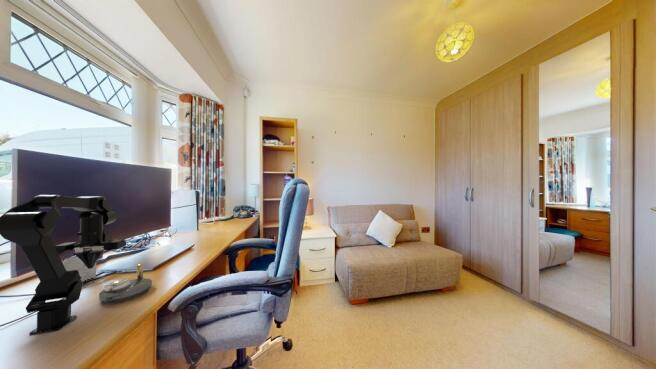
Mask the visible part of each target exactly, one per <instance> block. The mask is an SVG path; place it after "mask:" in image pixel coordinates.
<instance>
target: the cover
mask: <svg viewBox="0 0 656 369" xmlns="http://www.w3.org/2000/svg"><path fill="white" fill-rule="evenodd" d="M130 280H131V279H129V278H118V279H116V280H113V281H111V282H108V283H107V284H105V286H104V289H105V293H114V292H118V291H121V290H124V289H126V288H128V287H129V286H130Z"/></svg>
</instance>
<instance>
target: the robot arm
mask: <svg viewBox="0 0 656 369" xmlns="http://www.w3.org/2000/svg"><path fill="white" fill-rule="evenodd" d="M40 209H49V210H48V211H39V210H40ZM61 209H73V210H74V211H77V212H81V213H80V214H78V215H77V216H76V219H79V232H77V233H76V236H78V237H79V242H78V241H74V242H72V241H70V242H64V243H60V244H57V245H55V244H54V242H53V240H52V237H51V235H52V233H53V231H54V229H55V228H56V225H55V224H56V222H57V221H58V220H59V219H60V218H61V217H62V214H61ZM117 219H118V214H117V213H116V212H115V211H113V208H112V206H111V204H110V202H109V200H108V199H107V197H106V196H103V195H102V196H101V195H99V196H98V195H96V196H95V195H94V196H93V195H91V196H89V195H88V196H86V195H85V196H83V195H81V196H77V197H76V196H66V195H61V194H39V195H36V196H34V197H32V198H30V200H28V201H26V202H23V203H21V204H18V205H16V206H14V207H11V208H9V209H8V210H7V211H6V212H4V213H3V214H2V215H0V236H1V237H2V238H3V239H4V240H6V241H9V242H11V243H15V244H17V245H18V246H20V248H21V250H22V252H23V253H24V255H25V257H26V259H27V260H28V262H29V264H30V266H31V267H32V269H33V271H34V272H35V274H36V277H37V278H38V280H39V282H38V285H37V286H36V287H35V290H34V291H35V294H34V295H33V297H32V298H31V299H30V301H29V303H28V304H27V305H26V306H25V311H26V313H27V314H31V313H35V312H37V313H36V328H34V329H33V330H31V331H29V334H28V335H34V334H42V333H47V332H48V333H49V332H52V331H53V332H54V331H58V330H60V329H62V328H63V327H65V326H66V325H68V324H69V323H70V322H71V321H73V320H75V319H76V318H77V314H75V315H72V305H73V304H74V303H76V302H77V301H78V300H80V298H81V292H82V289H83V285H84V282H83V281H81V278H82V277H80V275H79V271H77V270H70V271H67V270H66V269H65V267H64V265H63V263H62V257H61V256H60V254H61V255H62V254H64V253H65V252H66V251H74V250H75V253H72V255H76V256H77V257H78V258H79V259H80V260H81V261H82V262H83V263H84V264H85V265H86V266H87V268H88V269H91V268H93V267H94V265H95V263H96V264H97V262H98V259H99V258H100V255H101V254H102V253H103V252H104V251H115V250H119V249H121V248H124V247H126V246H127V241H126V240H125V239H124V238H123V239H114V236H115V235H114V233H112V232H111V233H110V232H106V231H107V230H106V229H105V228H104V226H106V225H109V224H112V223H114V222H116V220H117ZM58 299H59V300H58ZM51 300H52V301H51Z"/></svg>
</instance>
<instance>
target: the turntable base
mask: <svg viewBox="0 0 656 369" xmlns="http://www.w3.org/2000/svg"><path fill="white" fill-rule="evenodd" d="M149 290H150V288H149V289H148V290H147V291H145V292H143V293H141V294H139V295H136V296H133V297H130V298H127V299H123V300H118V301H112V302H103V301H102V302H103V303H104V304H107V305H114V304H120V303H124V302H128V301H132V300H135V299H136V298H139V297H141V296H143V295H145V294H146V293H148V291H149Z"/></svg>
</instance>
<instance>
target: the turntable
mask: <svg viewBox="0 0 656 369" xmlns="http://www.w3.org/2000/svg"><path fill="white" fill-rule="evenodd" d="M129 280H130V286H129V287H128V288H126V289H124V290H121V291H118V292H114V293H105V288H104V289H102V290H101V291H100V292H99V293H98V300H99V301H100V302H112V301H118V300H123V299H127V298H130V297H133V296H136V295H139V294H141V293H143V292H145V291H147V290H148V289H149V290H150V289H151V288H152V285H153V280H152V279H151V278H146V277H145V278H144V263H139V264H136V278H135V279H129ZM149 290H148V291H149ZM148 291H147V292H148Z"/></svg>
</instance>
